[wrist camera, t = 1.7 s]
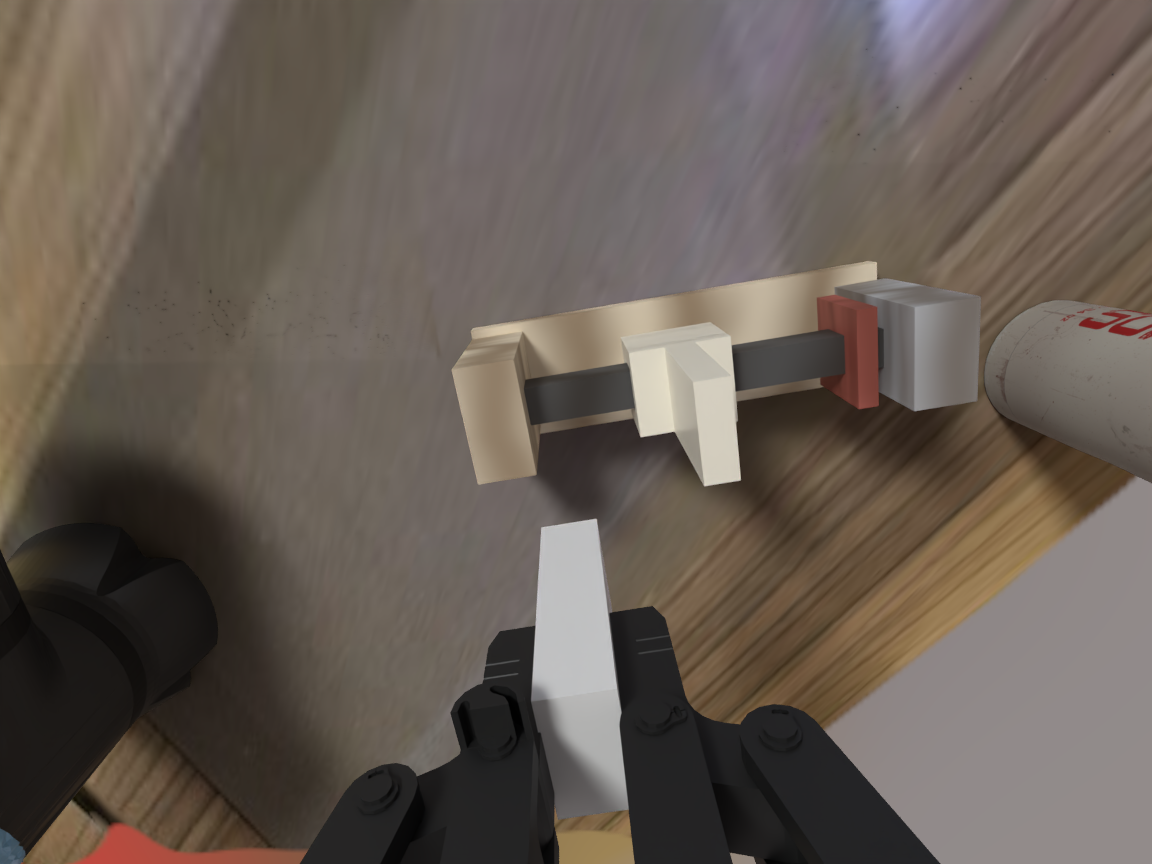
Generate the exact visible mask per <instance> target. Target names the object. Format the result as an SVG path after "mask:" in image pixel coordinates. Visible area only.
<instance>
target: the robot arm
mask: <svg viewBox="0 0 1152 864" xmlns="http://www.w3.org/2000/svg"><path fill="white" fill-rule="evenodd" d="M217 637H218V627H217V619H216V614H215V610H214V607H213V604H212V601H211V599H210V597H209V595H208V593H207V591H206V589H205V587H204V586H203V584H202V583H201V581H200V580H199V579H198V577H197V576H196V575H195V573H194V572H193V571H192V570H191V569H190V568H189V567H188V566H187V565H186V564H185V563H184V562H183V561H181V560H177V559H171V558H153V559H151V558H147V557H145V556H143V555H142V554H141V553H140V552H139V550H138V548H137V546H136V544H135V543H134V541H133V540H132V539H131V537H130V536H129V535H128V534H127V533H126V532H125V531H124V530H123V529H122V528H120V527H116V526H111V525H104V524H95V523H77V524H68V525H62V526H58V527H54V528H51V529H48V530H45V531H43V532H41V533H39V534H36V535H35V536H33V537H31V538H30V539H28V540H27V541H25V542H24V543H23V544H22V545H21V546H20V547H19V548H18V550H17V551H16V552H15V553H14V554H13V556H12V557H11V558H10V559H9V561H8V562H7V563H6V562H5V559H4V557H3V555H2V553H1V550H0V864H21V862H23V859H24V858H25V857H26V855H27V854H28V853H29V852H30V850H31V849H32V848H33V847H34V845H35V844H36V843H37V842H38V841H39V839H40V838H41V837H42V836H43V834H44V833H45V832H46V831H47V829H48V828H49V827H50V826H51V824H52V823H53V822H54V821H55V820H56V818H57V817H58V816H59V815H60V813H61V812H62V811H63V810H64V808H65V807H66V806H67V805H68V803H69V802H70V801H71V800H72V798H73V797H74V796H75V795H76V794H77V792H78V791H79V790H80V789H81V787H82V786H83V785H84V784H85V782H86V781H87V780H88V779H89V777H90V776H91V775H92V774H93V773H94V771H95V770H96V769H97V768H98V766H99V765H100V764H101V763H102V761H103V760H104V759H105V758H106V756H107V755H108V754H109V753H110V752H111V750H112V749H113V748H114V747H115V745H116V744H117V743H118V742H119V740H120V739H121V738H122V736H123V735H124V734H125V733H126V732H127V730H128V729H129V728H130V727H131V726H132V724H133V723H134V722H135V721H136V720H137V719H138V718H139V717H141V716H142V715H144V714H146V713H147V712H149V711H150V710H152V709H154V708H155V707H157V706H159V705H160V704H162V703H163V702H165V701H167V700H168V699H170V698H171V697H173V696H175V695H176V694H178V693H180V692H181V691H183V690H184V689H186V688H188V687H189V686H190V680H191V676H190V669H191V668H192V667H194V666H195V665H196V664H197V663H198V662H199V661H200V660H201V659H202V658H203V657H204V656H205V655H206V654H207V653H208V652H209V651H210V650H211V649H212V648H213V647H214V646H215V645H216V644H217ZM451 717H452V720H453V724H454V727H455V731H456V734H457V738H458V742H459V745H460V749H461V751H460V754H459V755H458V756H457V757H455V758H454V759H453V760H451V761H450V762H448V763H446V764H444V765H442V766H441V767H439V768H436V769H434V770H432V771H429V772H427V773H424V774H422V775H420V776H416V773H415V772H414V771H413V770H412V769H411V768H410V767H409V766H406V765H402V764H398V763H394V764H386V765H381V766H379V767H376V768H374V769H371V770H369V771H367V772H366V773H364V774H363V775H362V776H360V777H359V778H357V779H356V780H355V781H354V782H353V783H352V784H351V785H350V787H349V788H348V789H347V790H346V791H345V793H344V794H343V796H342V797H341V799H340V800H339V802H338V804H337V805H336V807H335V808H334V810H333V812H332V813H331V815H330V816H329V818H328V820H327V821H326V823H325V824H324V826H323V828H322V829H321V831H320V832H319V834H318V836H317V837H316V839H315V840H314V842H313V844H312V845H311V847H310V848H309V850H308V852H307V853H306V855H305V856H304V858H303V860H302V861H301V863H300V864H559V845H558V841H557V836H556V831H555V827H554V804H555V808H556V812H557V817H558V819H565V818H572V817H579V816H586V815H593V814H600V813H606V812H613V811H620V810H627V809H629V817H630V826H631V834H632V843H633V852H634V860H635V864H733V863H732V860H731V856H730V853H736V854H742V855H747V856H753V857H754V859H755V862H756V864H940V863H939V862H938V861H937V859H936V858H935V857H934V856H933V855H932V854H931V853H930V852H929V850H928V849H927V848H926V847H925V846H924V845H923V843H922V842H921V841H920V840H919V839H918V838H917V837H916V835H915V834H914V833H913V832H912V831H911V830H910V828H909V827H908V826H907V825H906V824H905V823H904V822H903V820H902V819H901V818H900V817H899V816H898V815H897V814H896V812H895V811H894V810H893V809H892V808H891V807H890V806H889V805H888V803H887V802H886V801H885V800H884V799H883V798H882V797H881V795H880V794H879V793H878V792H877V791H876V790H875V788H874V787H873V786H872V785H871V784H870V783H869V782H868V781H867V779H866V778H865V777H864V776H863V775H862V774H861V772H860V771H859V770H858V769H857V768H856V767H855V766H854V764H853V763H852V762H851V761H850V760H849V759H848V758H847V756H846V755H845V754H844V753H843V752H842V751H841V749H840V748H839V747H838V746H837V745H836V744H835V743H834V741H833V740H832V739H831V738H830V737H829V736H828V735H827V733H826V732H825V731H824V730H823V729H822V728H821V727H820V725H819V724H818V723H817V722H816V721H815V720H814V719H813V718H811V717H810V716H809V715H808V714H806V713H805V712H804V711H801V710H799V709H796V708H793V707H791V706H785V705H775V704H773V705H768V706H762V707H759V708H757V709H755V710H753V711H752V712H750V713H748V714H747V716H746V717H745V718H744V720H743V721H742V722H741V725H739V724H730V723H723V722H718V721H714V720H711V719H709V718H706V717H704V716H702V715H701V714H699V713H698V712H696V711H695V710H694V709H693V708H692V707H691V705H690V704H689V703H688V701H687V698H686V696H685V693H684V689H683V685H682V681H681V677H680V673H679V670H678V666H677V662H676V658H675V654H674V650H673V647H672V643H671V639H670V636H669V631H668V627H667V624H666V620H665V618H664V617H663V616H662V615H661V614H660V613H659V612H658V611H657V610H656V609H655V608H654V607H653V606H651V607H644V608H638V609H631V610H625V611H618V612H612V607H611V600H610V594H609V589H608V583H607V577H606V571H605V565H604V559H603V553H602V548H601V542H600V536H599V530H598V524H597V519H592V520H585V521H579V522H573V523H567V524H560V525H554V526H548V527H541V544H540V560H539V577H538V594H537V611H536V626H532V627H525V628H519V629H512V630H506V631H500V632H499V633H498V635H497V636H496V638H495V639H494V640H493V642H492V643H491V645H490V646H489V648H488V654H487V660H486V667H485V672H484V680H483V684H480V685H477V686H475V687H474V688H472V689H470V690H468V691H467V692H465V693H464V694H463V695H462V696H461V697H460V698H459V699H458V700H457V701H456V702H455V704H454V706H453V708H452V711H451Z"/></svg>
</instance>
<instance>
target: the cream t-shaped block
mask: <svg viewBox="0 0 1152 864" xmlns="http://www.w3.org/2000/svg"><path fill="white" fill-rule="evenodd" d="M621 344H622V351H623V358H624V363H627V364H628V366H629V369H630V376H631V383H632V390H633V397H634V404H635V408H634V409H631V413H632V416H633V418H634V421H635V424H636V426H637V429H638V432H639V434H640V437H646V436H652V435H658V434H664V433H670V432H675V433H676V435H677V437H678V439H679V441H680V442H681V444H682V446H683V448H684V450H685V452H686V454H687V455H688V457H689V459H690V461H691V463H692V465H693V466H694V468H695V470H696V472H697V474H698V476H699V477H700V479H701V481H702V483H703V485H704V486H709V485H715V484H722V483H728V482H734V481H740V480H741V475H740V464H739V453H738V441H737V430H736V422H737V421H738V414H737V403H736V392H735V380H734V369H733V357H732V346H731V336H730V335H728V334H727V333H725V332H724V331H722V330H721V329H720V328H718V327H717V326H715V325H714V324H712V323H711V322H708V323H702V324H696V325H690V326H684V327H678V328H672V329H666V330H660V331H654V332H648V333H642V334H636V335H631V336H625V337H621Z"/></svg>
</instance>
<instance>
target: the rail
mask: <svg viewBox="0 0 1152 864" xmlns="http://www.w3.org/2000/svg"><path fill="white" fill-rule="evenodd" d="M980 310H981V296H976V295H971V294H966V293H961V292H955V291H950V290H945V289H939V288H934V287H929V286H924V285H918V284H913V283H908V282H903V281H897V280H892V279H887V278H884V279H878V280H877V262H871V261H867V262H861V263H855V264H849V265H843V266H837V267H832V268H826V269H820V270H814V271H808V272H802V273H796V274H790V275H784V276H778V277H772V278H767V279H761V280H755V281H749V282H743V283H737V284H731V285H725V286H719V287H713V288H708V289H702V290H696V291H690V292H684V293H678V294H672V295H666V296H660V297H654V298H649V299H643V300H637V301H631V302H625V303H619V304H613V305H607V306H601V307H595V308H590V309H584V310H578V311H572V312H566V313H560V314H554V315H548V316H542V317H536V318H531V319H525V320H519V321H513V322H507V323H501V324H495V325H489V326H483V327H477V328H473V329H472V330H471V335H472V341H471V342H470V344H469V345H468V347H467V348H466V350H465V351H464V353H463V354H462V355H461V357H460V358H459V360H458V361H457V363H456V364H455V366H454V367H453V368H452V374H453V378H454V382H455V387H456V391H457V395H458V400H459V404H460V408H461V413H462V417H463V421H464V426H465V430H466V434H467V439H468V443H469V447H470V452H471V456H472V460H473V465H474V469H475V473H476V478H477V482H478V484H484V483H490V482H497V481H503V480H509V479H515V478H521V477H527V476H533V475H537V464H538V452H539V439H540V434H542V433H548V432H554V431H561V430H567V429H573V428H579V427H585V426H591V425H597V424H603V423H609V422H615V421H621V420H627V419H633V416H632V413H631V409H634V408H635V404H634V397H633V390H632V383H631V376H630V369H629V366H628V364H627V363H624V358H623V351H622V344H621V337H625V336H631V335H636V334H642V333H648V332H654V331H660V330H666V329H672V328H678V327H684V326H690V325H696V324H702V323H708V322H711V323H712V324H714V325H715V326H717V327H718V328H720V329H721V330H722V331H724V332H725V333H727V334H728V335H730V336H731V346H732V357H733V369H734V380H735V392H736V402H737V401H743V400H749V399H755V398H761V397H767V396H773V395H779V394H785V393H791V392H797V391H803V390H810V389H816V388H822V387H825V388H826V389H828V390H830V391H831V392H833V393H834V394H836V395H837V396H839V397H841V398H842V399H844V400H845V401H847V402H848V403H850V404H851V405H853V406H855V407H856V408H858V409H864V408H870V407H876V406H879V392H880V393H882V394H884V395H885V396H887V397H889V398H891V399H893V400H895V401H896V402H898V403H900V404H902V405H904V406H906V407H907V408H909V409H911V410H913V411H920V410H926V409H932V408H938V407H944V406H950V405H956V404H963V403H969V402H975V401H977V393H978V365H979V338H980Z"/></svg>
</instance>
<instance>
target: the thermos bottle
mask: <svg viewBox="0 0 1152 864" xmlns="http://www.w3.org/2000/svg"><path fill="white" fill-rule="evenodd" d="M984 384H985V388H986V392H987V395H988V397H989V399H990V401H991V403H992V405H993V406H994V407H995V408H996V409H997V410H998V411H999V412H1000V413H1001V414H1002V415H1004V416H1005V417H1007V418H1008V419H1010V420H1012V421H1015V422H1017V423H1019V424H1021V425H1024V426H1026V427H1028V428H1030V429H1032V430H1035V431H1037V432H1039V433H1041V434H1044V435H1046V436H1048V437H1050V438H1053V439H1055V440H1057V441H1059V442H1061V443H1064V444H1066V445H1068V446H1070V447H1073V448H1075V449H1077V450H1079V451H1082V452H1084V453H1087V454H1089V455H1092V456H1094V457H1096V458H1099V459H1101V460H1104V461H1106V462H1108V463H1111V464H1113V465H1115V466H1117V467H1119V468H1121V469H1124V470H1126V471H1128V472H1130V473H1132V474H1134V475H1136V476H1138V477H1140V478H1142V479H1144V480H1146V481H1149V482H1151V483H1152V314H1149V313H1143V312H1137V311H1131V310H1124V309H1118V308H1112V307H1106V306H1100V305H1094V304H1088V303H1082V302H1076V301H1070V300H1056V301H1050V302H1046V303H1042V304H1039V305H1037V306H1034V307H1032V308H1030V309H1028V310H1026V311H1024V312H1023V313H1021V314H1020V315H1018V316H1017V317H1015V318H1014V319H1013V320H1012V321H1011V322H1010V323H1009V324H1008V325H1006V326H1005V328H1004V329H1003V330H1002V331H1001V333H1000V334H999V335H998V336H997V338H996V340H995V341H994V343H993V345H992V346H991V348H990V351H989V354H988V356H987V359H986V364H985V370H984Z"/></svg>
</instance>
